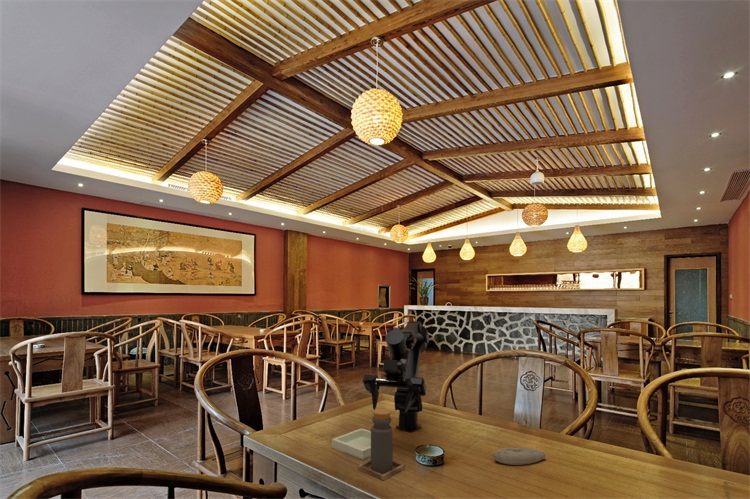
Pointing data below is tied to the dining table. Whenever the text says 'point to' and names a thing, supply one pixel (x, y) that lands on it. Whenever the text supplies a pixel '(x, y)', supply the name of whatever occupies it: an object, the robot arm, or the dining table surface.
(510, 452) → the decorative stone
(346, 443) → the tray
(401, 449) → the dining table surface
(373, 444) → the bottle
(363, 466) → the seat frame
